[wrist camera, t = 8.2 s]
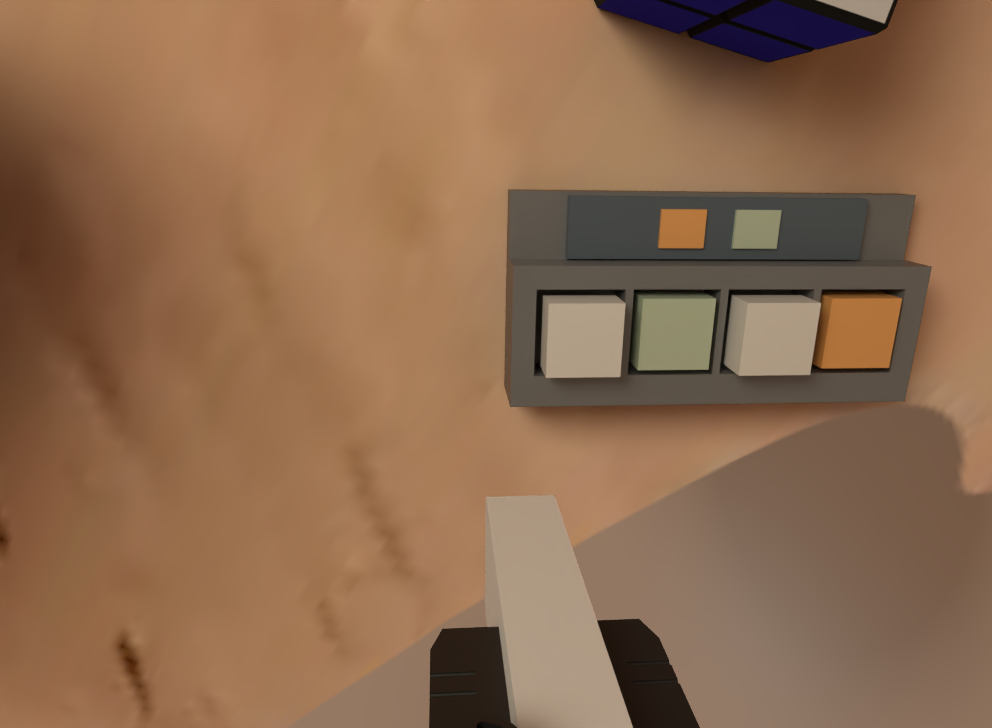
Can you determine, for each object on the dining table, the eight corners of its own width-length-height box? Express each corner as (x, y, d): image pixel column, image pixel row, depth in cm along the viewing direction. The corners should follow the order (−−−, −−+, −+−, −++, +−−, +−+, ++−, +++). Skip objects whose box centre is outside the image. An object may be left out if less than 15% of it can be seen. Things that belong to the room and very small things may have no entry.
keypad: (504, 385, 40) (510, 406, 37) (508, 189, 37) (515, 193, 33) (867, 381, 42) (904, 401, 38) (901, 193, 38) (945, 197, 35)
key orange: (802, 357, 39) (821, 368, 37) (812, 291, 38) (832, 298, 36) (867, 357, 39) (888, 367, 37) (878, 291, 38) (902, 298, 36)
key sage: (627, 359, 38) (637, 370, 36) (632, 291, 37) (643, 298, 35) (695, 358, 38) (708, 369, 36) (701, 290, 37) (716, 298, 35)
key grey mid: (723, 364, 37) (738, 375, 36) (731, 295, 36) (747, 303, 34) (791, 363, 38) (810, 375, 36) (801, 295, 37) (821, 303, 35)
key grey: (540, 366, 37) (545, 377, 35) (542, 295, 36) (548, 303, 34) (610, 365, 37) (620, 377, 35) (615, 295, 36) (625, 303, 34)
